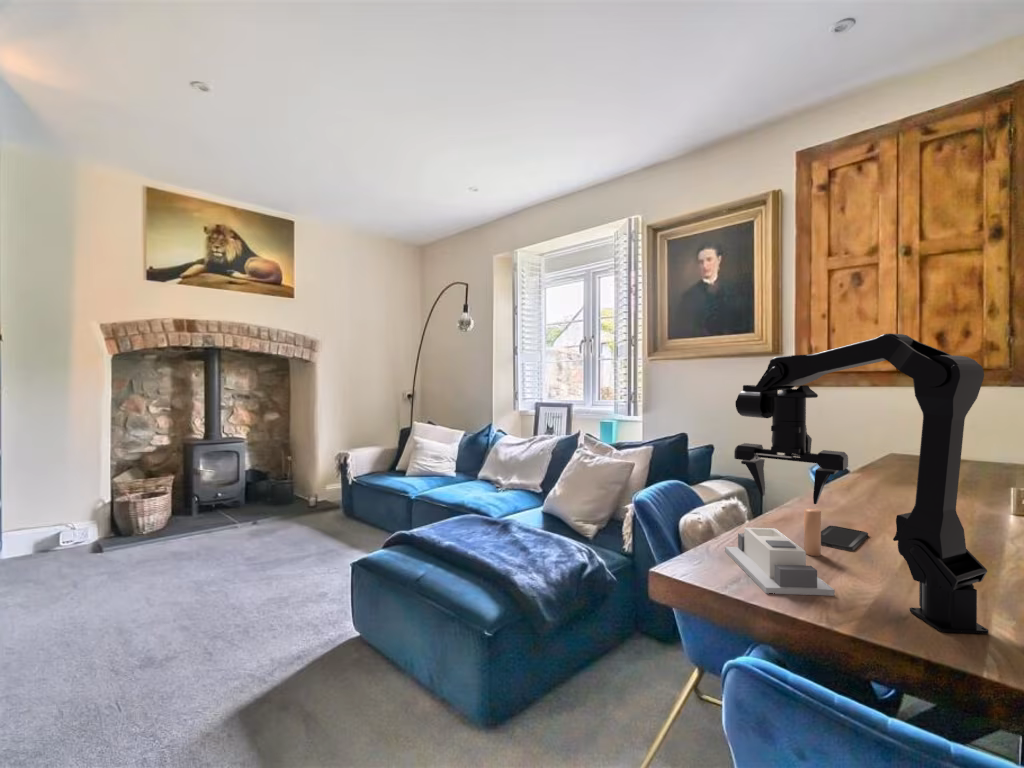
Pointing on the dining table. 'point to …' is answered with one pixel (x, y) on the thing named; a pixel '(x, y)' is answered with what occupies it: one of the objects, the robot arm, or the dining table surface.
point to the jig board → (770, 581)
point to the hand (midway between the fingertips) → (788, 499)
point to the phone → (842, 537)
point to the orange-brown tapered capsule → (812, 531)
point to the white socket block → (771, 549)
